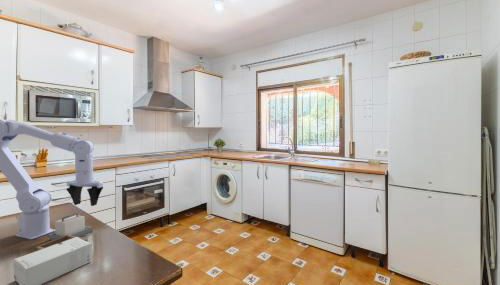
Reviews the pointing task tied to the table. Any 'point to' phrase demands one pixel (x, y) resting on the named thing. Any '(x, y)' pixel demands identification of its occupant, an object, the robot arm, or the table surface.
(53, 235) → the slate drawer housing
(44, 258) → the skincare box
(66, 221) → the white drawer with handle
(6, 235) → the table surface
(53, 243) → the walnut bay
